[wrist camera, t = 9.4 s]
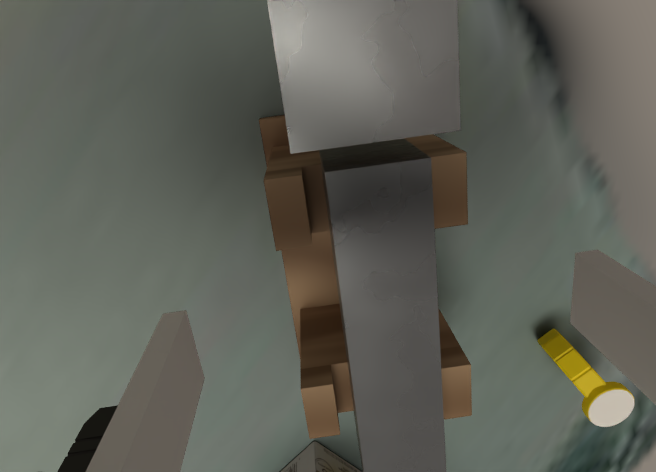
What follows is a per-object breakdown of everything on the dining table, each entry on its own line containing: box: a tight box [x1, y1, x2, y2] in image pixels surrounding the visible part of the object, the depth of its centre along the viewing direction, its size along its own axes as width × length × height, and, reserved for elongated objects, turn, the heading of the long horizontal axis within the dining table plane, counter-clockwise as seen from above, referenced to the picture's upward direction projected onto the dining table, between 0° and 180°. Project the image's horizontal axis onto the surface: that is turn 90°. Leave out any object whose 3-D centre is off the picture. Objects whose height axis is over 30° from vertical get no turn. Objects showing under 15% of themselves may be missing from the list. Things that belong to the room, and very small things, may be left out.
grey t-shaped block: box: [267, 0, 461, 472], centre depth 19 cm, size 20×6×4 cm, turn 7°
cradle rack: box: [259, 115, 472, 439], centre depth 25 cm, size 16×9×8 cm, turn 7°
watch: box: [538, 329, 634, 427], centre depth 30 cm, size 6×3×6 cm, turn 43°
